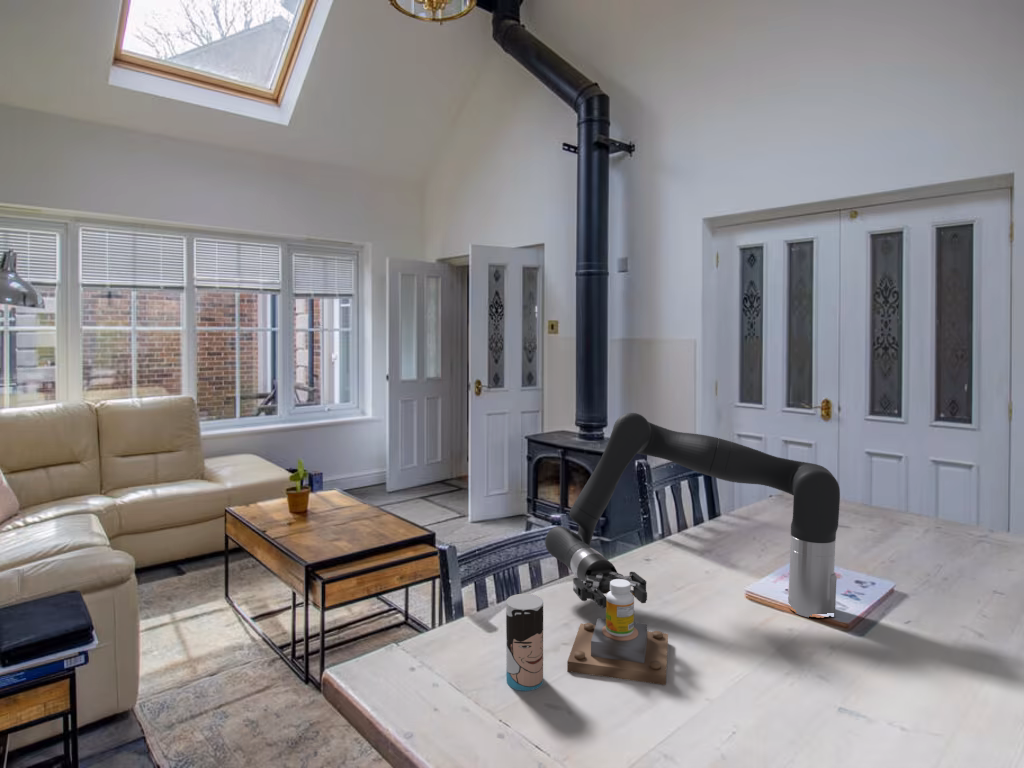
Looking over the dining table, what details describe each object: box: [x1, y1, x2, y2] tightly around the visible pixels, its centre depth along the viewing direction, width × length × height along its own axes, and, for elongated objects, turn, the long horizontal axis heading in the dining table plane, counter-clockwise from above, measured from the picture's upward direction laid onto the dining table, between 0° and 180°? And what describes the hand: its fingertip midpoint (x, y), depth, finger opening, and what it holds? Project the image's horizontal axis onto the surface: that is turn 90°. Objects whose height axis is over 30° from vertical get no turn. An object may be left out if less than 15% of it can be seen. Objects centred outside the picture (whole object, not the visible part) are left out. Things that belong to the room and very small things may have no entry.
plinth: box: [566, 617, 669, 686], centre depth 125 cm, size 18×16×5 cm
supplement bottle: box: [605, 579, 635, 637], centre depth 124 cm, size 5×5×10 cm
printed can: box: [505, 593, 544, 692], centre depth 116 cm, size 7×7×15 cm
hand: (624, 600), depth 122 cm, fingers open, 8 cm apart
